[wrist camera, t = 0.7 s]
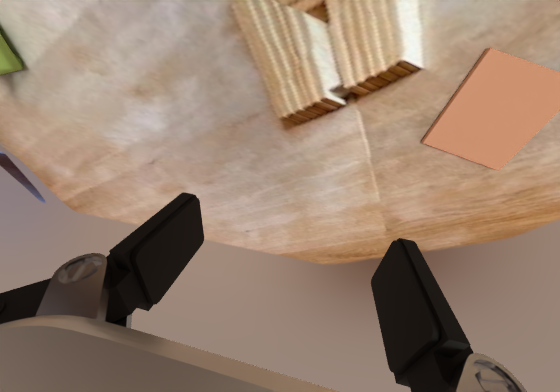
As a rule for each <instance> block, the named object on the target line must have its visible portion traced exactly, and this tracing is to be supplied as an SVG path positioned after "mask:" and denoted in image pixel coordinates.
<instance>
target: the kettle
mask: <svg viewBox="0 0 560 392" xmlns="http://www.w3.org/2000/svg"><path fill="white" fill-rule="evenodd" d="M22 67H23V64H22V62H21V60H20V59H19V57H17V56H16V55H14V54H13V52H12V51H11V49H10V48H9V46H8V45H7V43H6V42H5V40H4V38H3V37H2V35H1V29H0V75H3V74H7V73H10V72H14V71H18V70H22V69H23V68H22Z"/></svg>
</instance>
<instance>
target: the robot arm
mask: <svg viewBox="0 0 560 392" xmlns="http://www.w3.org/2000/svg"><path fill="white" fill-rule="evenodd" d="M203 241H204V233H203V225H202V217H201V209H200V201H199V199H198V198H197V197H196V195H194V194H189V193H181V194H180V195H179V196H178V197H176V198H175V199H174V200H173V201H171V202H170V203H169V204H167V205H166V206H165V207H164V208H162V209H161V210H160V211H159V212H157V213H156V214H155V215H154V216H152V217H151V218H150V219H149V220H147V221H146V222H145V223H144V224H142V225H141V226H140V227H139V228H137V229H136V230H135V231H134V232H132V233H131V234H130V235H129V236H127V237H126V238H125V239H124V240H122V241H121V242H120V243H119V244H117V245H116V246H115V247H114V248H113V249H111V250H110V251H109V252H110V254H109V255H108V256H107V257H105V256H104V255H102V254H100V253H91V254H85V255H82V256H78V257H76V258H74V259H72V260H70V261H68V262H66V263H65V264H63V265H62V266H61V267H60V268H59V269H57V270H56V272H55V273H54V275H53V276H52V278H50V279H47V280H43V281H40V282H37V283H33V284H30V285H27V286H24V287H20V288H17V289H13V290H10V291H7V292H4V293H0V392H338V391H335V390H332V389H329V388H325V387H322V386H319V385H316V384H312V383H309V382H306V381H302V380H299V379H296V378H293V377H290V376H287V375H283V374H280V373H277V372H274V371H270V370H267V369H264V368H260V367H257V366H254V365H251V364H247V363H244V362H241V361H238V360H234V359H231V358H227V357H224V356H221V355H218V354H214V353H211V352H208V351H204V350H201V349H198V348H195V347H191V346H188V345H184V344H181V343H178V342H174V341H171V340H167V339H164V338H161V337H158V336H154V335H151V334H147V333H144V332H141V331H137V330H134V329H131V320H132V313H133V311H134V310H135V309H136V308H140V309H143V310H147V311H149V310H150V308H151V307H152V306H153V305H154V304H157V303H158V302H159V301H160V300H161V299H162V297H163V296H164V294H165V293H166V292H167V291H168V289H169V288H170V287H171V285H172V284H173V283H174V281H175V280H176V279H177V277H178V276H179V275H180V273H181V272H182V270H183V269H184V268H185V266H186V265H187V264H188V262H189V261H190V259H191V258H192V257H193V256H194V254H195V253H196V252H197V250H198V249H199V248H200V246H201V245H202V244H203ZM371 286H372V291H373V296H374V300H375V304H376V310H377V314H378V319H379V324H380V328H381V333H382V338H383V342H384V347H385V351H386V356H387V361H388V365H389V369H390V371H391V372H393V373H394V376H395V380H396V383H398V384H401V385H404V386H408V387H410V388H411V392H527V391H526V390H525V388H524V387H523V385H522V384H521V383H520V382H519V381H518V380H517V378H516V377H515V376H514V375H513V374H512V373H511V372H510V371H509V370H507V369H506V368H505V367H504V366H503V365H501V364H500V363H499V362H497V361H495V360H494V359H492V358H490V357H488V356H486V355H484V354H479V353H473V351H472V349H471V347H470V343H469V341H468V339H467V338H466V336H465V334H464V332H463V330H462V328H461V326H460V325H459V323H458V321H457V319H456V317H455V315H454V313H453V311H452V310H451V308H450V306H449V304H448V302H447V300H446V298H445V297H444V295H443V293H442V291H441V289H440V287H439V285H438V284H437V282H436V280H435V278H434V276H433V274H432V272H431V271H430V269H429V267H428V265H427V263H426V261H425V260H424V258H423V256H422V254H421V252H420V250H419V248H418V246H417V244H416V243H415V242H414V241H411V240H406V239H401V238H399V239H397V241H393V242H392V243H391V245H390V247H389V249H388V250H387V252H386V254H385V256H384V257H383V259H382V261H381V263H380V265H379V266H378V268H377V270H376V272H375V273H374V275H373V277H372V280H371Z"/></svg>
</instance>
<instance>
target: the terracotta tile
mask: <svg viewBox="0 0 560 392" xmlns="http://www.w3.org/2000/svg"><path fill="white" fill-rule="evenodd" d="M559 111H560V72H557V71H554V70H552V69H549V68H546V67H543V66H540V65H537V64H535V63H532V62H529V61H526V60H523V59H521V58H518V57H515V56H512V55H509V54H506V53H504V52H501V51H498V50H495V49H492V48H488V49H486V50H485V52H484V53H483V55H482V56H481V57H480V59H479V60H478V62H477V63H476V64H475V66H474V67H473V69H472V70H471V71H470V73H469V74H468V76H467V77H466V79H465V80H464V81H463V83H462V84H461V86H460V87H459V88H458V90H457V91H456V93H455V94H454V95H453V97H452V98H451V100H450V101H449V103H448V104H447V105H446V107H445V108H444V110H443V111H442V112H441V114H440V115H439V117H438V118H437V120H436V121H435V122H434V124H433V125H432V127H431V128H430V129H429V131H428V132H427V134H426V135H425V136H424V138H423V139H422V141H421V142H422V143H424V144H427V145H430V146H432V147H435V148H438V149H441V150H443V151H446V152H449V153H451V154H454V155H457V156H460V157H462V158H465V159H468V160H471V161H473V162H476V163H479V164H482V165H484V166H487V167H490V168H493V169H495V170H498V171H499V170H500V169H501V168H502V167H503V166H504V165H505V164H506V163H507V162H508V161H509V160H510V159H511V158H512V157H513V156H514V155H515V154H516V153H517V152H518V151H519V150H520V149H521V148H522V147H523V146H524V145H525V144H526V143H527V142H528V141H529V140H530V139H531V138H532V137H533V136H534V135H535V134H536V133H537V132H538V131H539V130H540V129H541V128H543V127H544V126H545V125H546V124H547V123H548V122H549V121H550V120H551V119H552V118H553V117H554V116H555V115H556V114H557V113H558V112H559Z"/></svg>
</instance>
